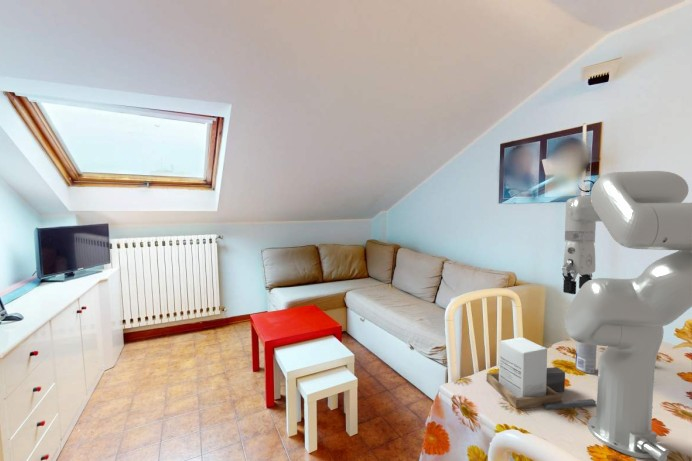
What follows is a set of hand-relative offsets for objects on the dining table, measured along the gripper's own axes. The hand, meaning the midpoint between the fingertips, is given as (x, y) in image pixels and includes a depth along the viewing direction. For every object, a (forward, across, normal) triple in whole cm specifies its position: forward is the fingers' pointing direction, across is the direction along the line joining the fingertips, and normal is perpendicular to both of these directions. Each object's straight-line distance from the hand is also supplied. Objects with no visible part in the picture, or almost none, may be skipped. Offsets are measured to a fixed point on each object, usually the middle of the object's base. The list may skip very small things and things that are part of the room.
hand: (577, 291), depth 95 cm
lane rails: (+29, -14, +1) cm, 32 cm away
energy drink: (+29, +11, +1) cm, 31 cm away
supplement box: (+29, -22, +4) cm, 37 cm away
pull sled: (+28, -19, +3) cm, 34 cm away
